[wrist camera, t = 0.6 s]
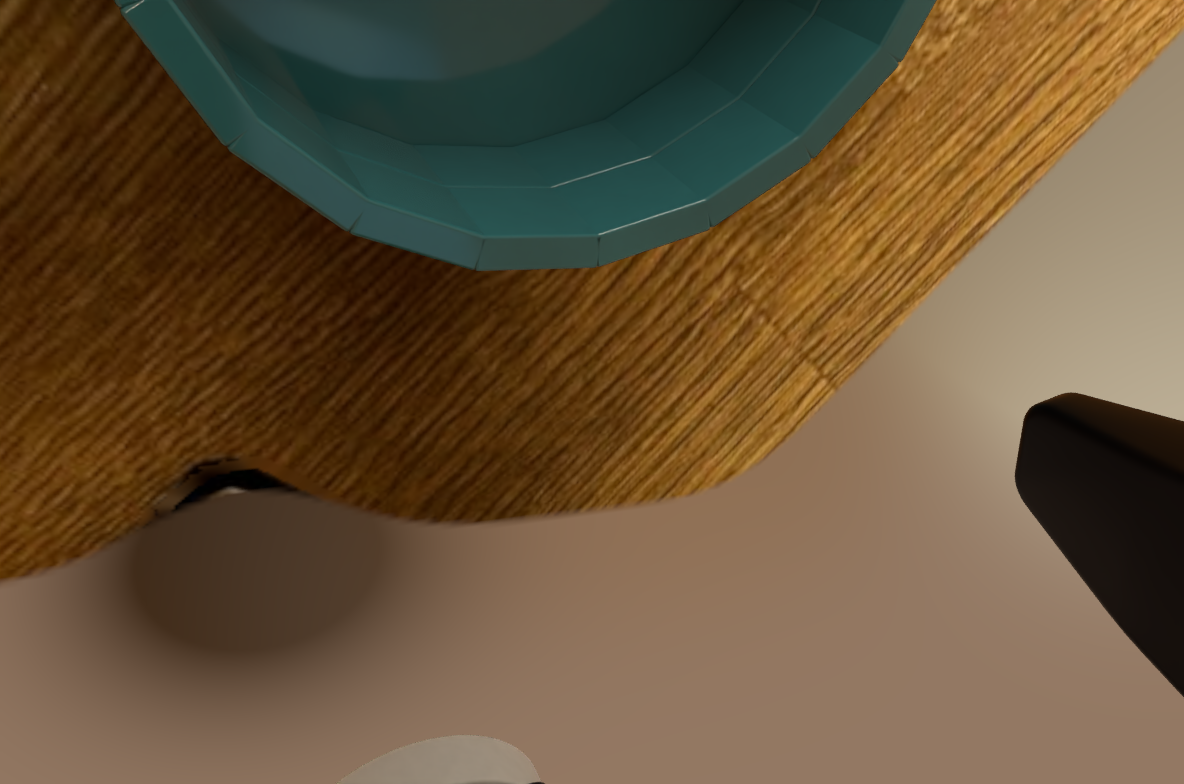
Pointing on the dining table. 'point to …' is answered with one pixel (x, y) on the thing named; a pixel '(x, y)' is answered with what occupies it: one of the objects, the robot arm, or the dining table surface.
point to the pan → (526, 110)
